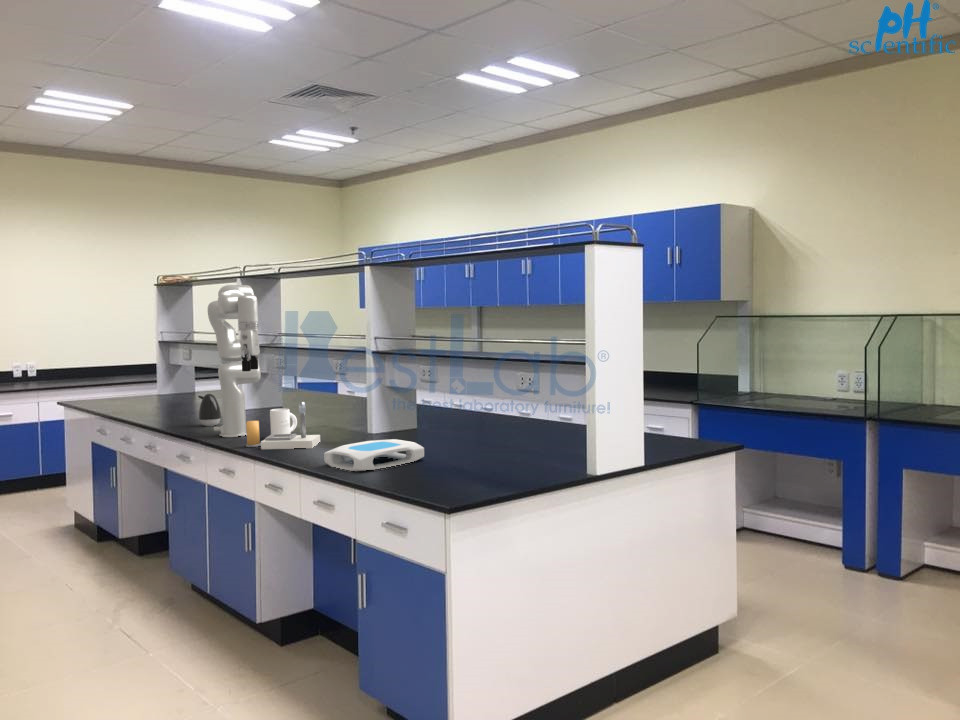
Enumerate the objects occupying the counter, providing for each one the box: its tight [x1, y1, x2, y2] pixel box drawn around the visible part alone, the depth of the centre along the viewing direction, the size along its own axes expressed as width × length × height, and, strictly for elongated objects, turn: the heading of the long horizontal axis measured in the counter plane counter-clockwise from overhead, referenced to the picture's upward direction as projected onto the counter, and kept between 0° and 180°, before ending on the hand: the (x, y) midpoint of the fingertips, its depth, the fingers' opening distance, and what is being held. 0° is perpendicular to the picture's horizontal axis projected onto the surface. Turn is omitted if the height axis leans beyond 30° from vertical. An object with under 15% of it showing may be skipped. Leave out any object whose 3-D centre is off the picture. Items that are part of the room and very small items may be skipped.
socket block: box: [260, 433, 321, 450], centre depth 311 cm, size 20×14×4 cm
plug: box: [245, 420, 261, 448], centre depth 311 cm, size 6×6×10 cm
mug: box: [269, 407, 298, 435], centre depth 331 cm, size 8×12×12 cm
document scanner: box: [323, 438, 425, 472], centre depth 272 cm, size 21×28×6 cm
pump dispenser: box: [198, 393, 222, 427], centre depth 371 cm, size 10×10×15 cm
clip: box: [298, 401, 307, 438], centre depth 304 cm, size 14×2×14 cm, turn 12°
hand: (250, 370), depth 309 cm, fingers open, 9 cm apart
